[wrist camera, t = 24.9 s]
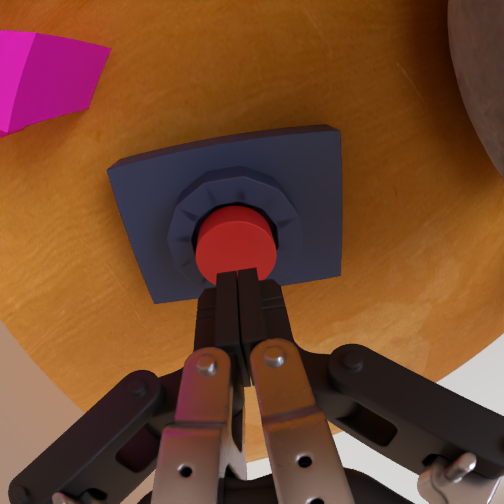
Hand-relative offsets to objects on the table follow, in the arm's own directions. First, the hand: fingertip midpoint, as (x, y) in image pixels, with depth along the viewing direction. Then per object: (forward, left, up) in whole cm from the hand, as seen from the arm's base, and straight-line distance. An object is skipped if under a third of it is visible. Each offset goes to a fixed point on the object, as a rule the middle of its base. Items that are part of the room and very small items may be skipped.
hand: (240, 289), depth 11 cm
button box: (0, 0, -8) cm, 8 cm away
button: (0, 0, -4) cm, 4 cm away
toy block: (-13, +13, -8) cm, 20 cm away
